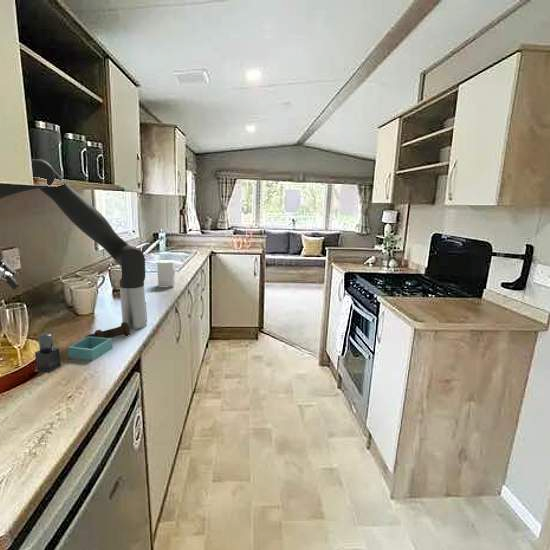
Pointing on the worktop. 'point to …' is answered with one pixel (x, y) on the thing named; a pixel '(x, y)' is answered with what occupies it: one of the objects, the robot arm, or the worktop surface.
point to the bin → (82, 351)
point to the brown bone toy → (112, 332)
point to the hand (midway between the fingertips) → (4, 290)
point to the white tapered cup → (166, 273)
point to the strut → (47, 353)
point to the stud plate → (51, 369)
